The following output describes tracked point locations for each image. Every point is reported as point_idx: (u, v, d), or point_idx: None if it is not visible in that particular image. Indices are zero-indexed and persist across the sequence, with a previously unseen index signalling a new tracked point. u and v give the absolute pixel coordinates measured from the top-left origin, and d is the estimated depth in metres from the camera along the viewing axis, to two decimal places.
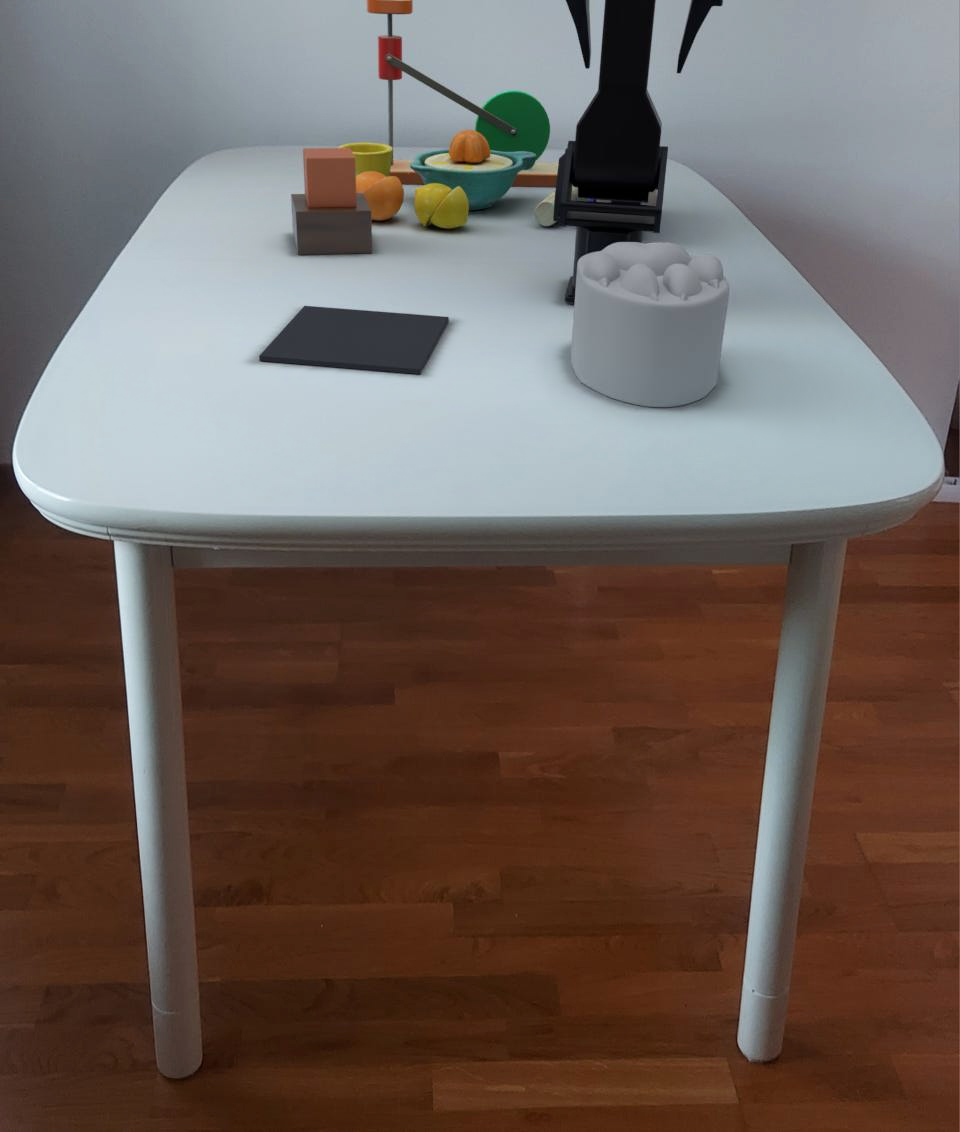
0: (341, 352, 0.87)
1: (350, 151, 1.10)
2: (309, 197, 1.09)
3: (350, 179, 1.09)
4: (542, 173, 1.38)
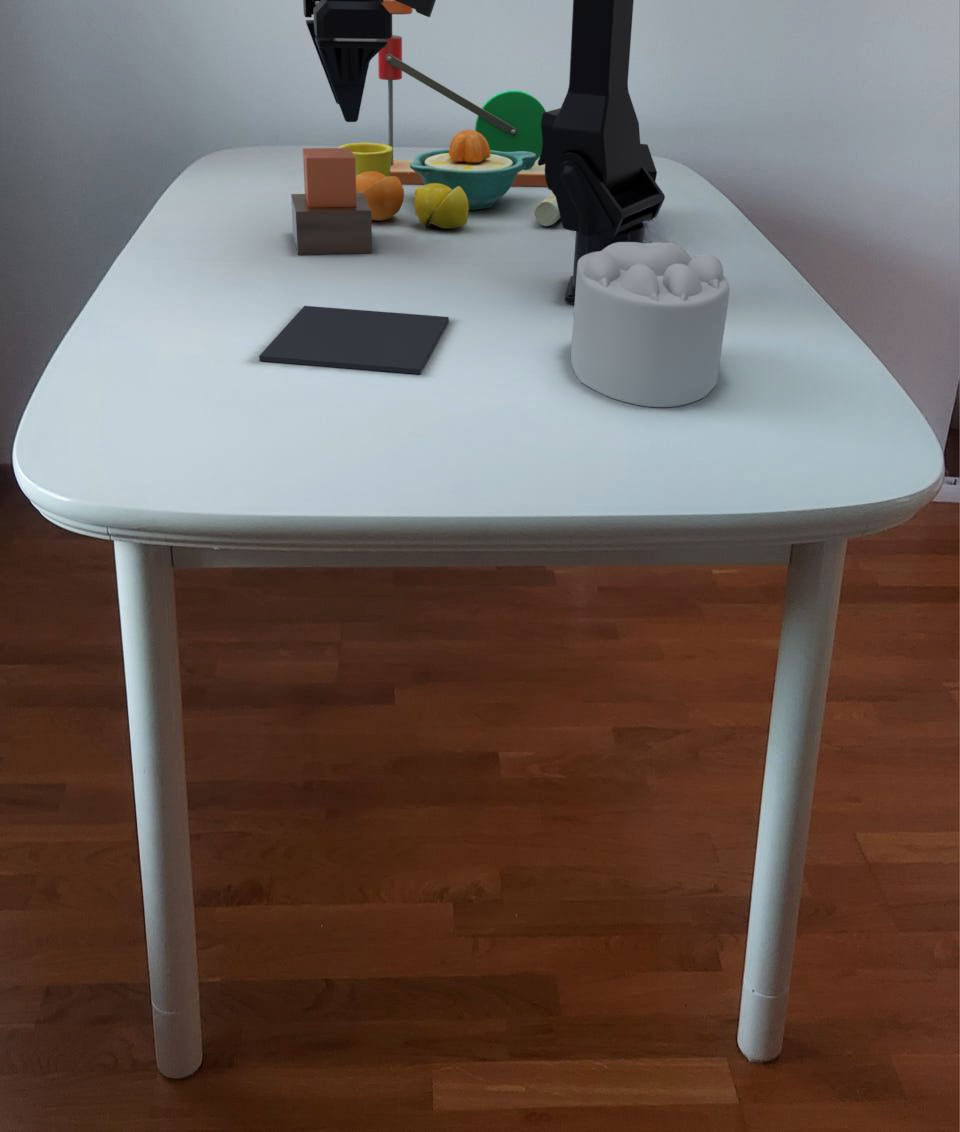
0: (341, 352, 0.87)
1: (350, 151, 1.10)
2: (309, 197, 1.09)
3: (350, 179, 1.09)
4: (542, 173, 1.38)
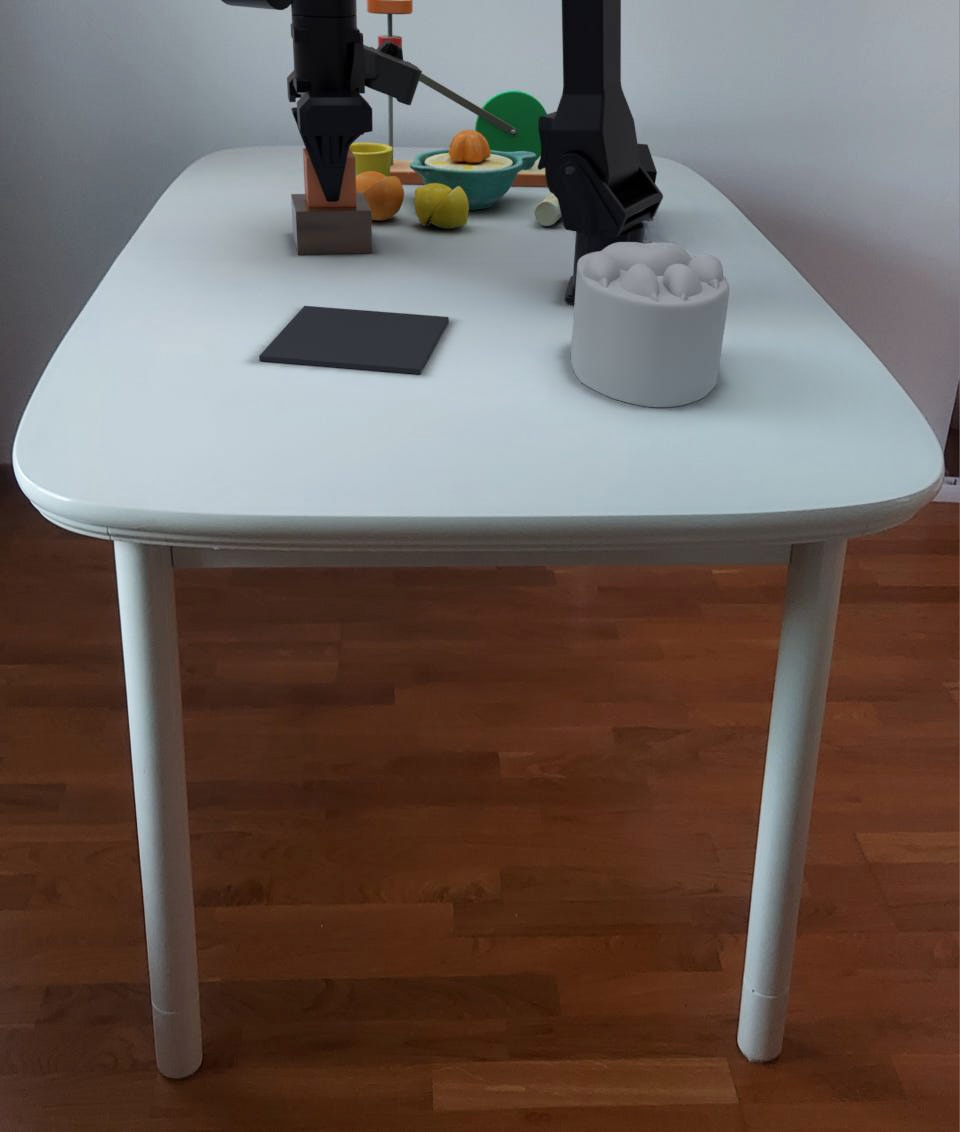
0: (341, 352, 0.87)
1: (350, 151, 1.10)
2: (309, 197, 1.09)
3: (350, 179, 1.09)
4: (542, 173, 1.38)
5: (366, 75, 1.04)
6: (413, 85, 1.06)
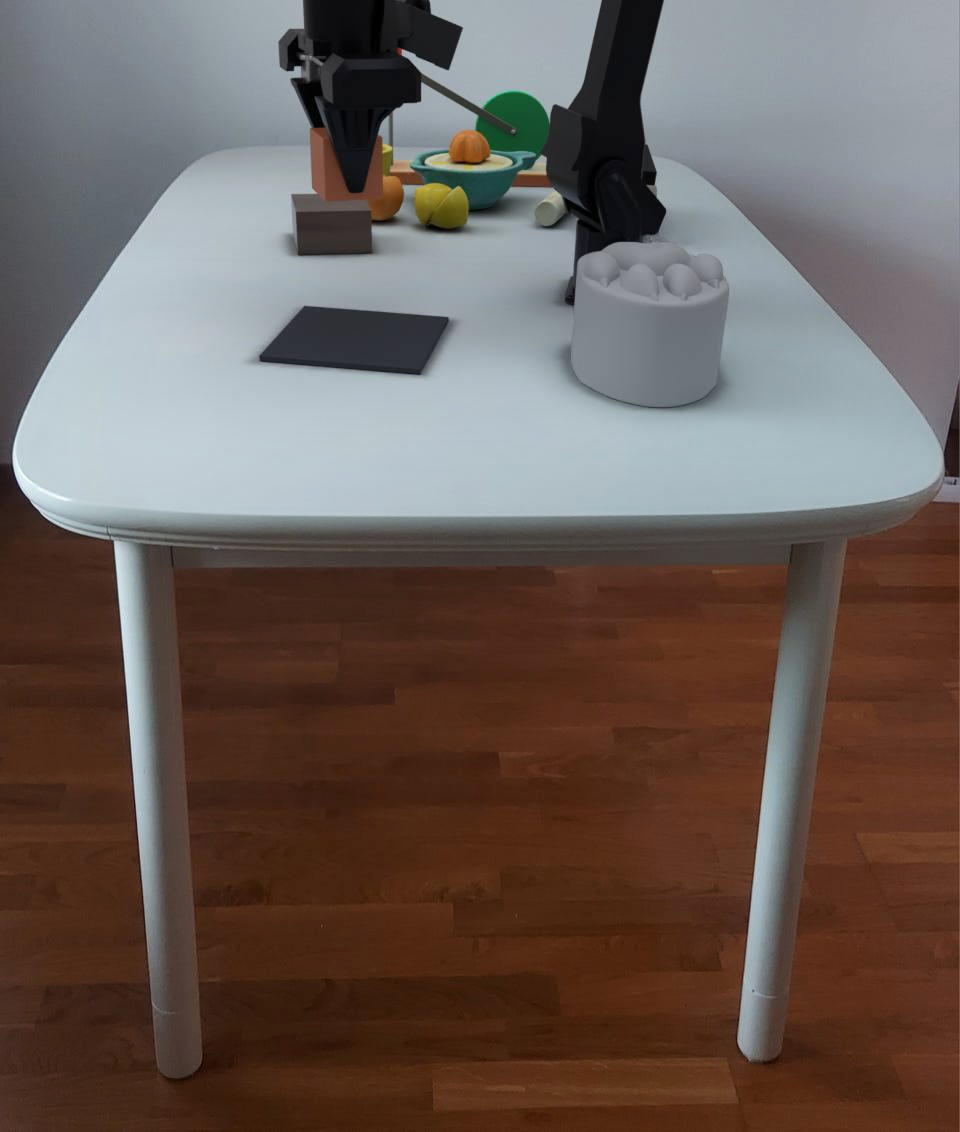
0: (341, 352, 0.87)
1: None
2: (326, 188, 0.87)
3: (376, 164, 0.88)
4: (542, 173, 1.38)
5: (399, 32, 0.83)
6: (454, 45, 0.85)
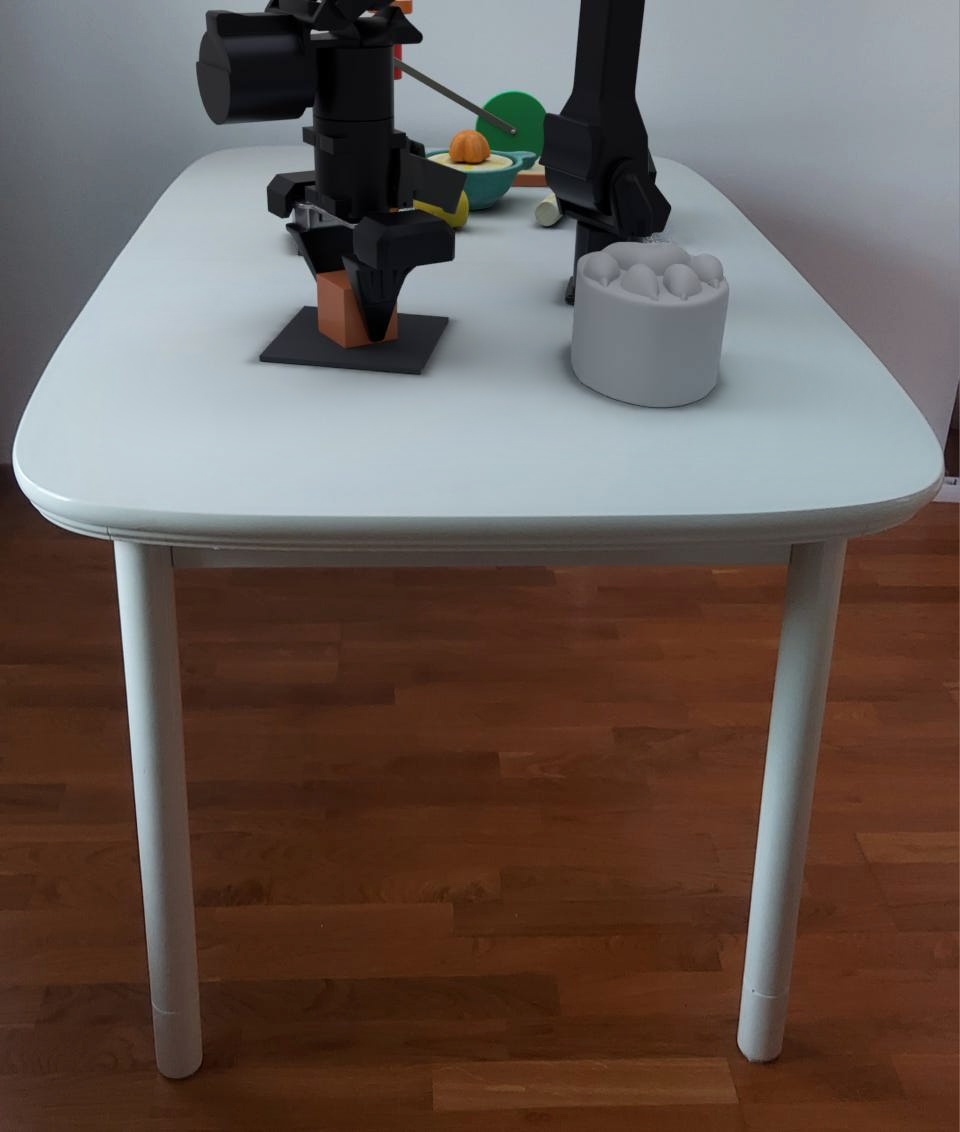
0: (341, 352, 0.87)
1: None
2: (346, 336, 0.87)
3: None
4: (542, 173, 1.38)
5: (414, 186, 0.84)
6: (460, 191, 0.87)
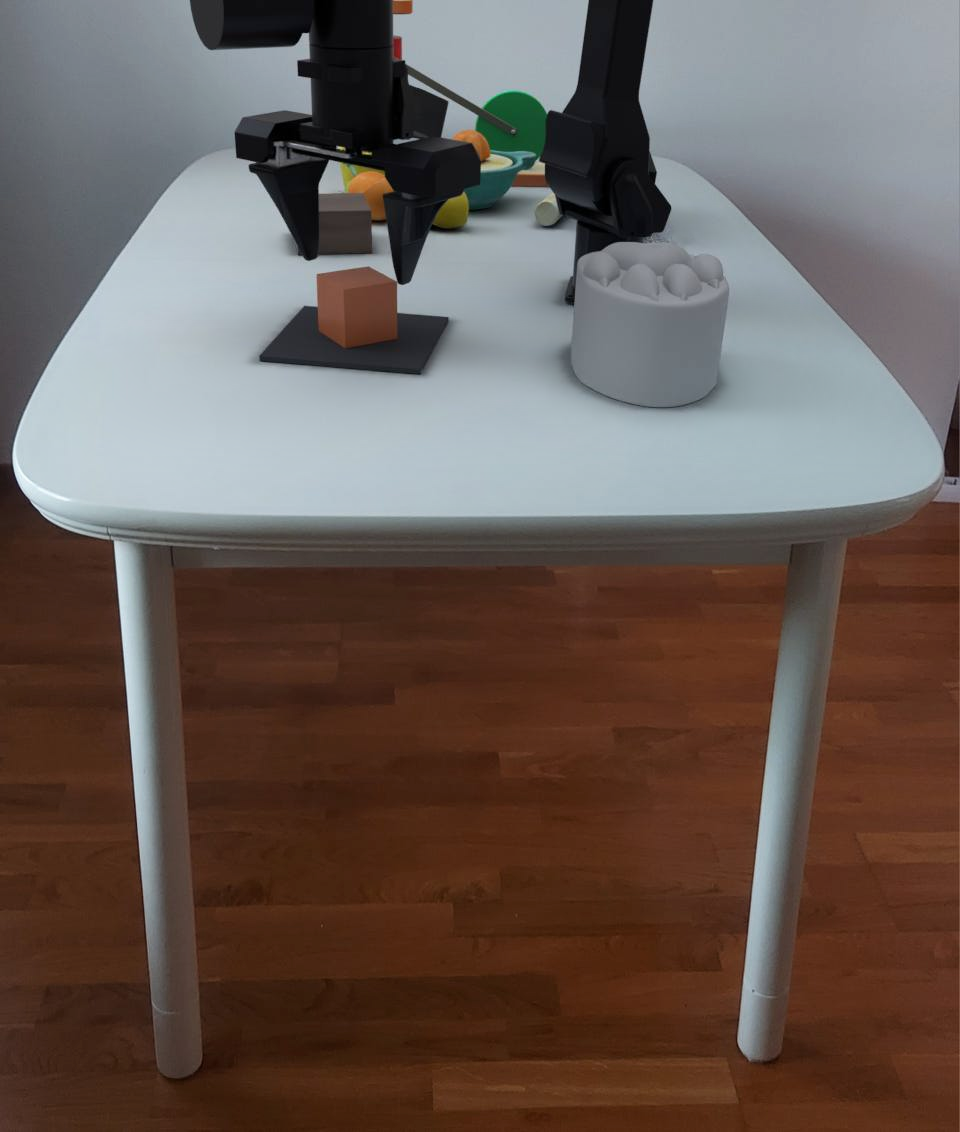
0: (341, 352, 0.87)
1: (377, 272, 0.89)
2: (346, 336, 0.87)
3: (392, 307, 0.88)
4: (542, 173, 1.38)
5: (414, 115, 0.83)
6: (444, 120, 0.87)
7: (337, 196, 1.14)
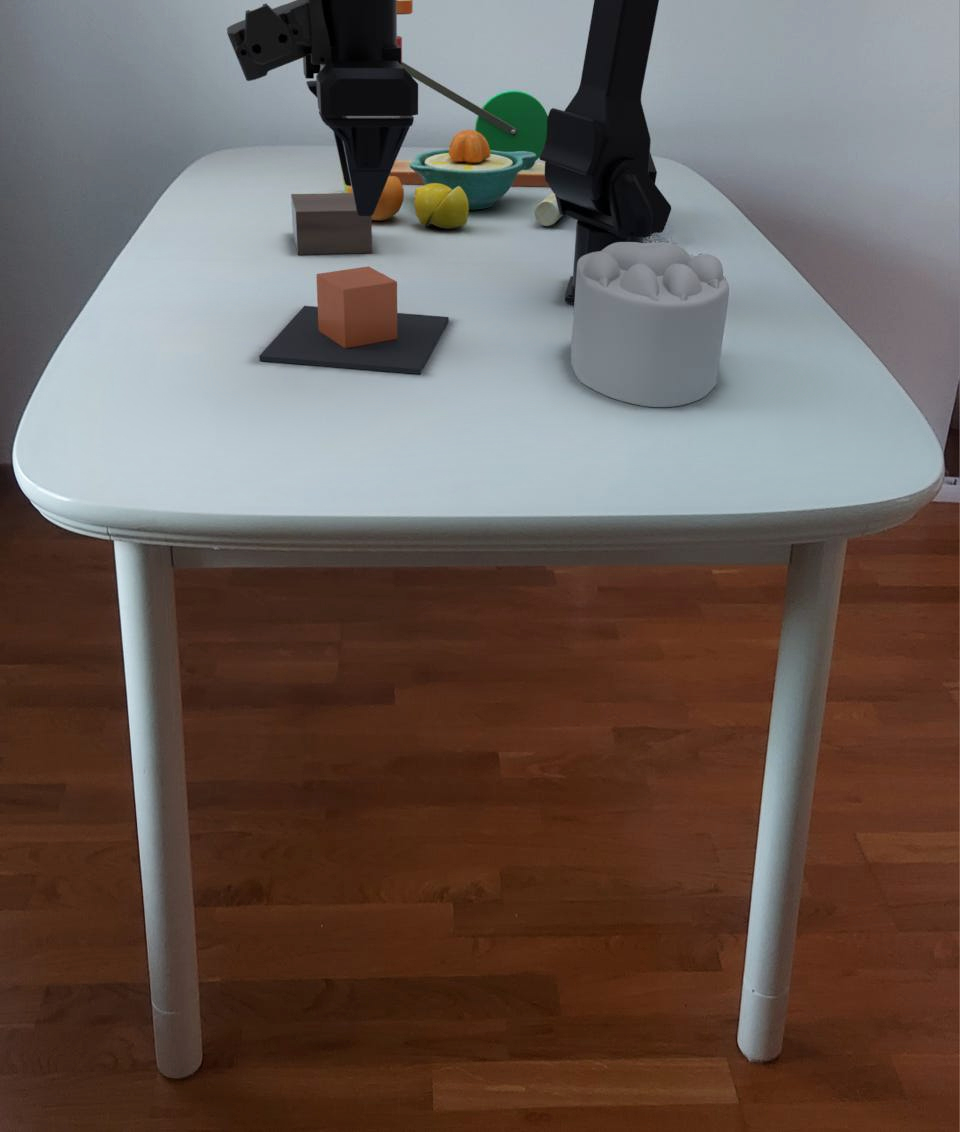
0: (341, 352, 0.87)
1: (377, 272, 0.89)
2: (346, 336, 0.87)
3: (392, 307, 0.88)
4: (542, 173, 1.38)
5: None
6: None
7: (337, 196, 1.14)
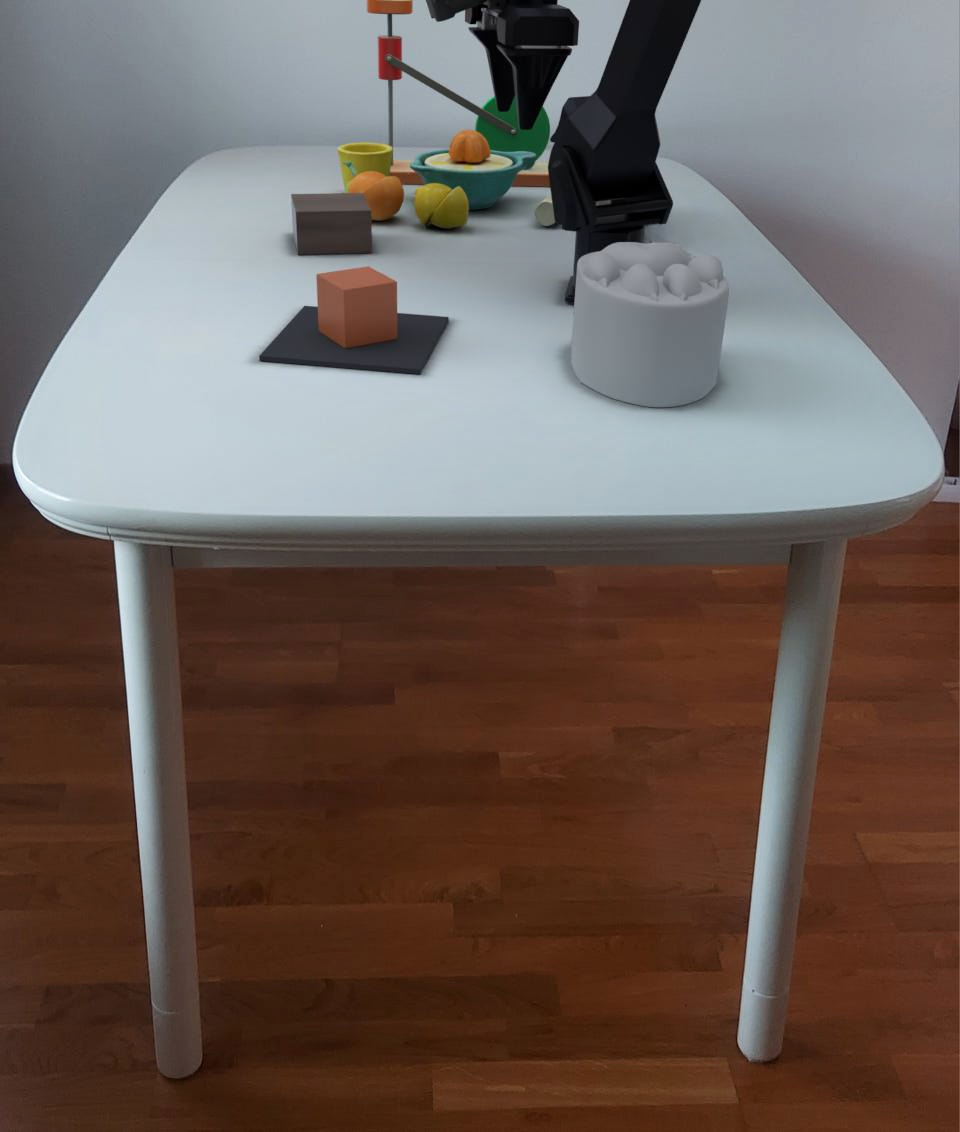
0: (341, 352, 0.87)
1: (377, 272, 0.89)
2: (346, 336, 0.87)
3: (392, 307, 0.88)
4: (542, 173, 1.38)
5: None
6: None
7: (337, 196, 1.14)
